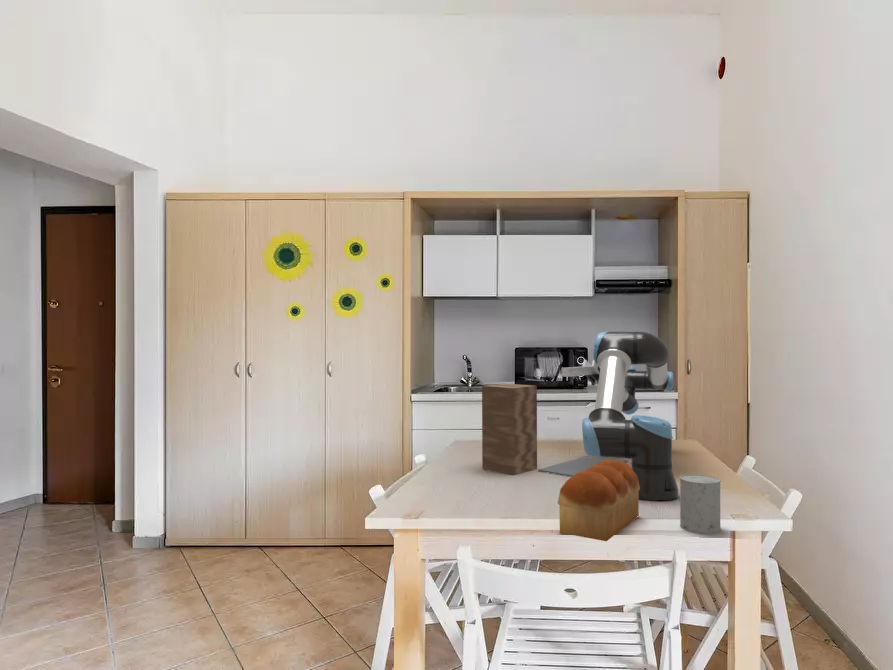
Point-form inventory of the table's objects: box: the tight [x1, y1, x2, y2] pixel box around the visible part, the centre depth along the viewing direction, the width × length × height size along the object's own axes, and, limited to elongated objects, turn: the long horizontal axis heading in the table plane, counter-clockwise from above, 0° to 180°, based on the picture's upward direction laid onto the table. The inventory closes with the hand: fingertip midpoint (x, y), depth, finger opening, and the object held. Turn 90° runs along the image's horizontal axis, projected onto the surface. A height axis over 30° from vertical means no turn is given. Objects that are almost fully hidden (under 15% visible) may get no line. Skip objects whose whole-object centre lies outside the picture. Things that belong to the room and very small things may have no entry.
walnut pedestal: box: [481, 383, 538, 476], centre depth 228 cm, size 14×14×30 cm
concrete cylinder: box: [679, 473, 722, 535], centre depth 159 cm, size 10×10×12 cm
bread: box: [557, 460, 640, 542], centre depth 162 cm, size 25×12×15 cm, turn 146°
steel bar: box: [561, 365, 598, 378], centre depth 233 cm, size 26×3×3 cm, turn 137°
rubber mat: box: [537, 455, 629, 477], centre depth 232 cm, size 36×16×1 cm, turn 137°
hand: (588, 363), depth 235 cm, fingers closed on steel bar, 3 cm apart
